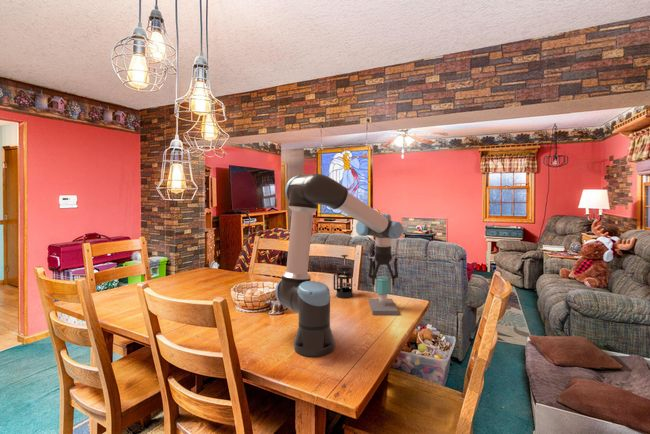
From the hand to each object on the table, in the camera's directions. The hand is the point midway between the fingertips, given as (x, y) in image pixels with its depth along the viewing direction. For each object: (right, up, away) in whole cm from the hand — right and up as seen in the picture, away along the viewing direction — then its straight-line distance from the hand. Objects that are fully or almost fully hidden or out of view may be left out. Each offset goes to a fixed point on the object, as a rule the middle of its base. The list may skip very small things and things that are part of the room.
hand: (383, 291), depth 161 cm
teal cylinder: (0, 0, 0) cm, 0 cm away
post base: (0, -8, 0) cm, 8 cm away
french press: (-18, -7, +21) cm, 29 cm away
